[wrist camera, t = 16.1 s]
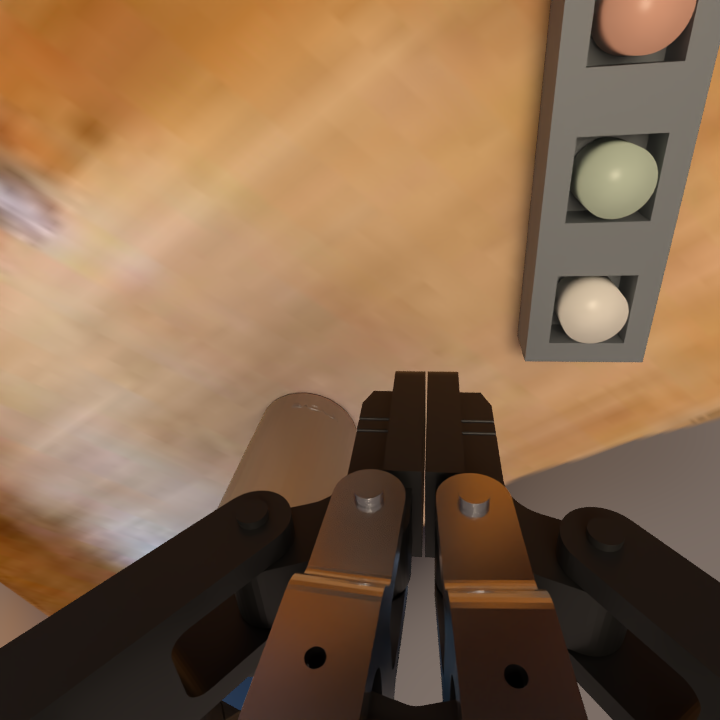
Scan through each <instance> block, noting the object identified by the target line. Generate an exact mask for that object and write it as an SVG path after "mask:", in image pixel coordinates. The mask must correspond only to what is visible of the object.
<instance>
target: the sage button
mask: <svg viewBox="0 0 720 720" xmlns="http://www.w3.org/2000/svg"><path fill="white" fill-rule="evenodd" d="M657 179H658V169H657V164H656V162H655V160H654V158H653V156H652V155H651V154H650V153H649V152H648V151H647V150H645V149H644V148H642V147H640V146H637V145H635V144H633V143H630V142H628V141H626V140H623V139H621V138H617V137H605V138H600V139H597V140H595V141H593V142H591V143H589V144H588V145H586V146H585V147H584V148H583V149H582V150H581V151H580V152H579V153H578V154H577V155H576V157H575V158H574V161H573V168H572V176H571V183H570V189H571V192H572V193H573V195H574V196H575V197H576V198H577V199H578V200H579V201H580V202H581V203H582V204H583V205H584V206H585V207H586V208H587V209H588V210H589V211H590V212H591V213H592V214H594V215H595V216H597V217H600V218H604V219H618V218H622V217H626V216H628V215H630V214H632V213H634V212H636V211H637V210H638V209H640V208H641V207H642V206H643V205H644V204H645V203H646V202H647V201H648V200H649V198H650V197H651V195H652V194H653V192H654V190H655V187H656V184H657Z"/></svg>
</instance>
